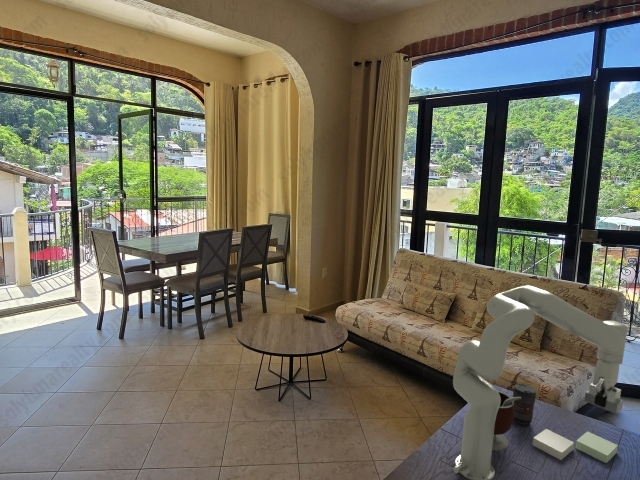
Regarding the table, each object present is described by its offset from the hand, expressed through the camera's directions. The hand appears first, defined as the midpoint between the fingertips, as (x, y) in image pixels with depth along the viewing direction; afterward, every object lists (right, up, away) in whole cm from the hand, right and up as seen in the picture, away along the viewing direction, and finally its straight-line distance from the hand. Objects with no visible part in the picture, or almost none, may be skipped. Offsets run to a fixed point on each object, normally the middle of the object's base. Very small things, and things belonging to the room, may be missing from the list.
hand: (603, 402), depth 148 cm
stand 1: (-16, -18, +4) cm, 25 cm away
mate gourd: (-37, -17, +7) cm, 42 cm away
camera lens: (-20, -16, +19) cm, 32 cm away
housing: (0, -1, 0) cm, 1 cm away
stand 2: (-1, -19, +3) cm, 19 cm away
